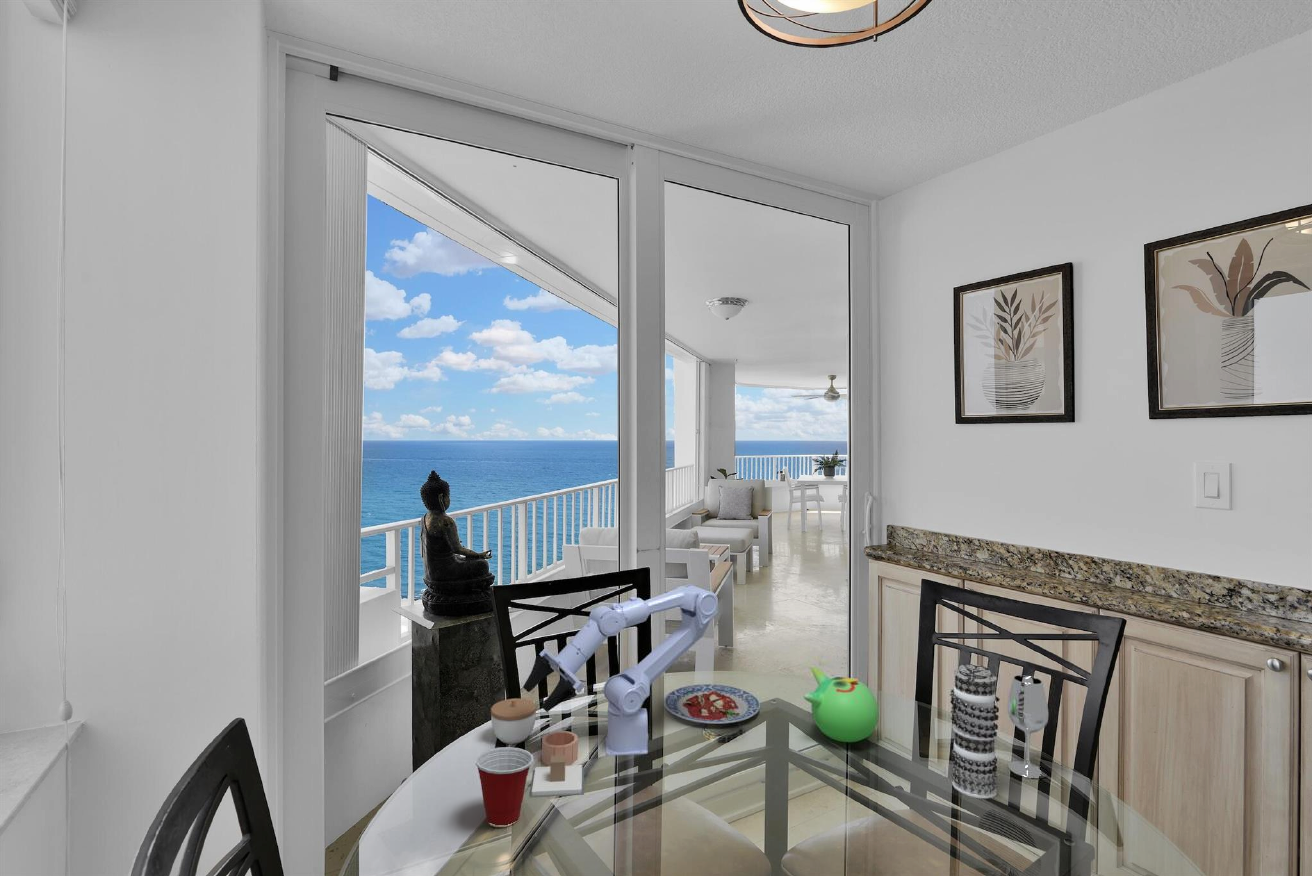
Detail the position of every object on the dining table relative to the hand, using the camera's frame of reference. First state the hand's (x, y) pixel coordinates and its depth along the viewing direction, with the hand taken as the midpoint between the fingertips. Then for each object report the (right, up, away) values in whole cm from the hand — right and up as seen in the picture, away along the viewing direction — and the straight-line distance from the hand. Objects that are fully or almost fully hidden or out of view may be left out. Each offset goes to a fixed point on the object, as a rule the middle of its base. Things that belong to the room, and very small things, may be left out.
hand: (534, 699), depth 142 cm
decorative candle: (+93, -16, -7) cm, 95 cm away
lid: (+6, -15, -6) cm, 17 cm away
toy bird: (+72, -16, +17) cm, 76 cm away
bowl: (+5, -15, +4) cm, 17 cm away
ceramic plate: (+42, -16, +33) cm, 55 cm away
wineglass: (+108, -16, 0) cm, 110 cm away
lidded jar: (-8, -16, +14) cm, 22 cm away
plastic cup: (-2, -15, -19) cm, 25 cm away
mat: (+6, -15, -6) cm, 17 cm away
